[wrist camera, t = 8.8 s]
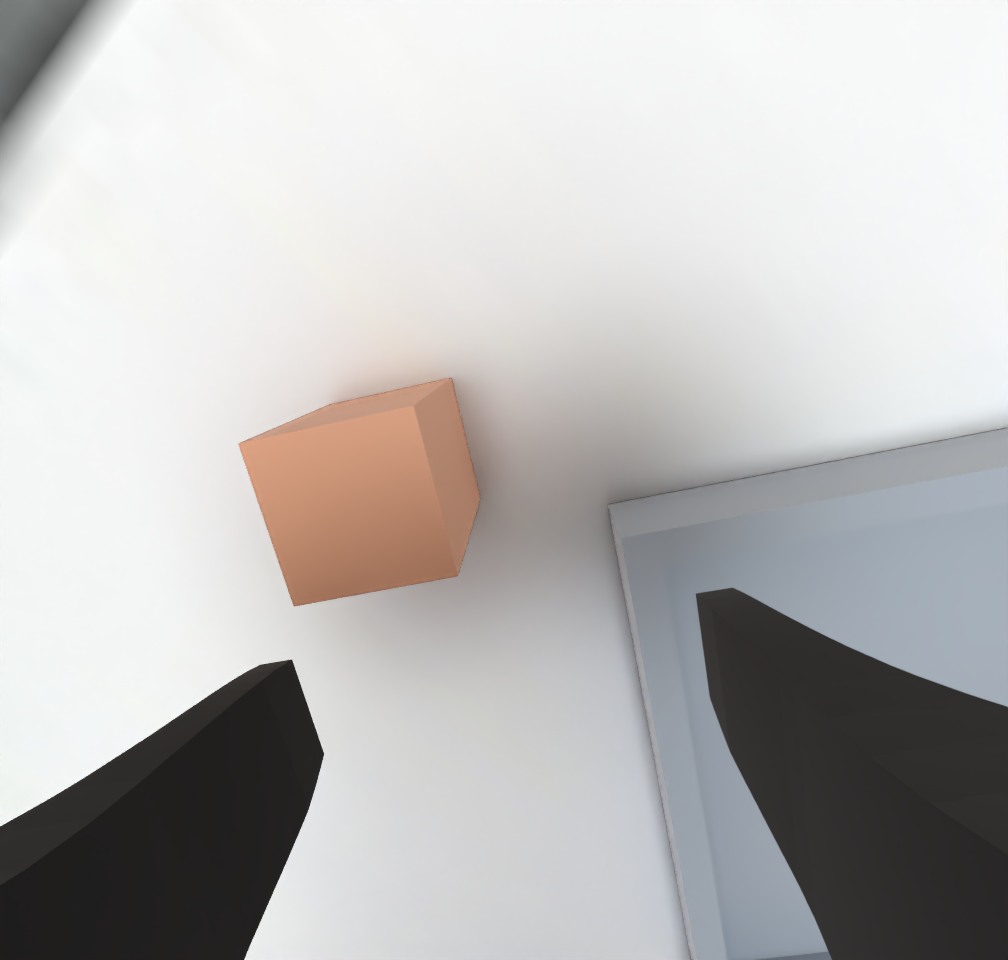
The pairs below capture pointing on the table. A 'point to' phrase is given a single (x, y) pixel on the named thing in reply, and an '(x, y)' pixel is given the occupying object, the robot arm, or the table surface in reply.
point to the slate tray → (820, 606)
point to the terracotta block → (367, 492)
